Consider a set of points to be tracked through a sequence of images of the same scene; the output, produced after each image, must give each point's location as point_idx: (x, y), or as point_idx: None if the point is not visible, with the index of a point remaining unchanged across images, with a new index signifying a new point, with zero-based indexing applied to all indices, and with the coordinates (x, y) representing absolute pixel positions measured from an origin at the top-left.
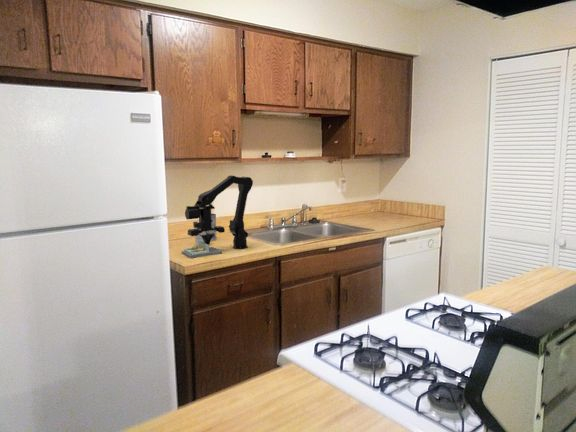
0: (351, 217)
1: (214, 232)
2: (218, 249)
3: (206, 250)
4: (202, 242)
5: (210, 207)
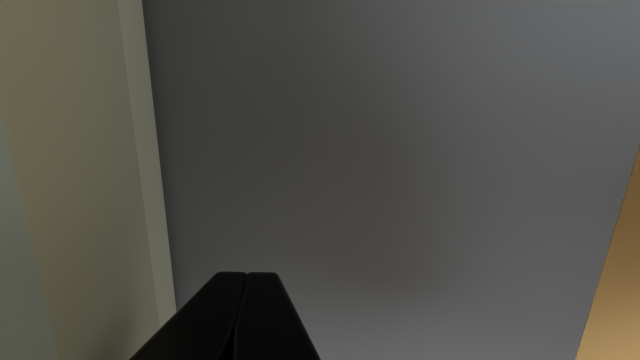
0: None
1: None
2: (587, 312)
3: None
4: (17, 311)
5: None
